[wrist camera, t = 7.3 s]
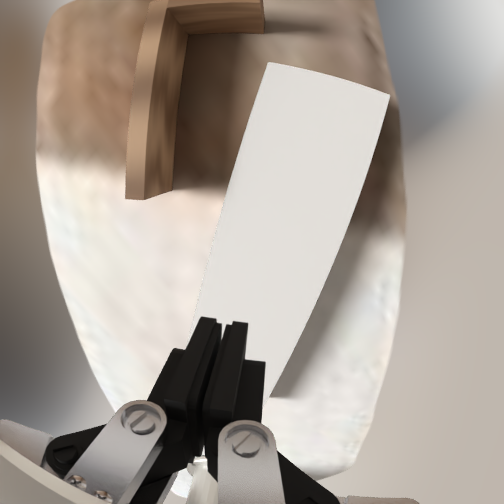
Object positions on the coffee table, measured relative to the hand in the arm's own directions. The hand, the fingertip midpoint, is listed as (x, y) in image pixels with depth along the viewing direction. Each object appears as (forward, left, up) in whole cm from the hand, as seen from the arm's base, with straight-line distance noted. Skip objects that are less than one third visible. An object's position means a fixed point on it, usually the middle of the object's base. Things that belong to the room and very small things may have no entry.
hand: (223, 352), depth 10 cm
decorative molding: (-3, -1, -18) cm, 18 cm away
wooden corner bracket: (+12, +5, -17) cm, 21 cm away
